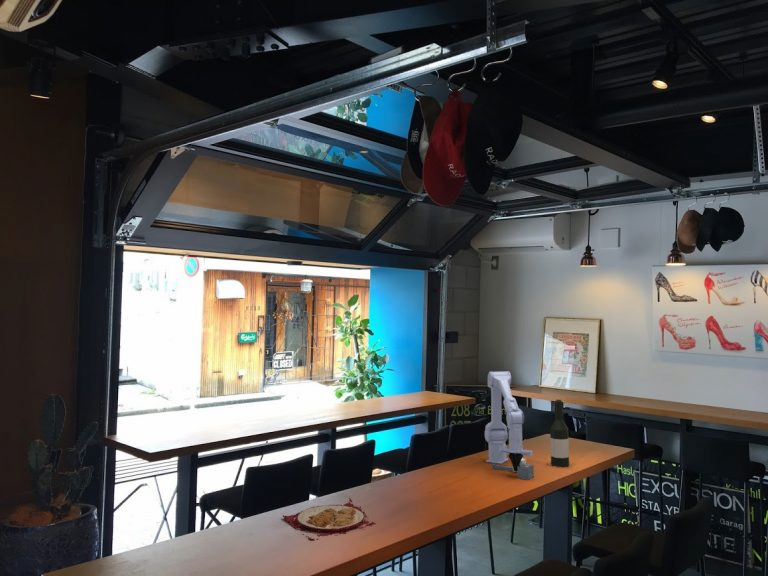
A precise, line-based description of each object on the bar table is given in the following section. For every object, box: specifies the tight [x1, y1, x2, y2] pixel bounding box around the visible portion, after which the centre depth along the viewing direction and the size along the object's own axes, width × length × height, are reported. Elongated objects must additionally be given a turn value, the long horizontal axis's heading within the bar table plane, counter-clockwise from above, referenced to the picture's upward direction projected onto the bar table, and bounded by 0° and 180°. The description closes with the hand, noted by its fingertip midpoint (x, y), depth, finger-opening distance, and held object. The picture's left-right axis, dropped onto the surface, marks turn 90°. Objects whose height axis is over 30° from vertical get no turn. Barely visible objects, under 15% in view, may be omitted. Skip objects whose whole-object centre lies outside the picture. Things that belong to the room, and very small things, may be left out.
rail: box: [491, 463, 513, 472], centre depth 267 cm, size 3×18×2 cm, turn 57°
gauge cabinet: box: [517, 463, 535, 481], centre depth 256 cm, size 6×5×5 cm
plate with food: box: [282, 497, 377, 541], centre depth 203 cm, size 25×26×4 cm
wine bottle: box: [549, 398, 570, 468], centre depth 277 cm, size 8×8×30 cm
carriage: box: [513, 457, 527, 473], centre depth 265 cm, size 5×4×5 cm
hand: (516, 470), depth 258 cm, fingers closed
